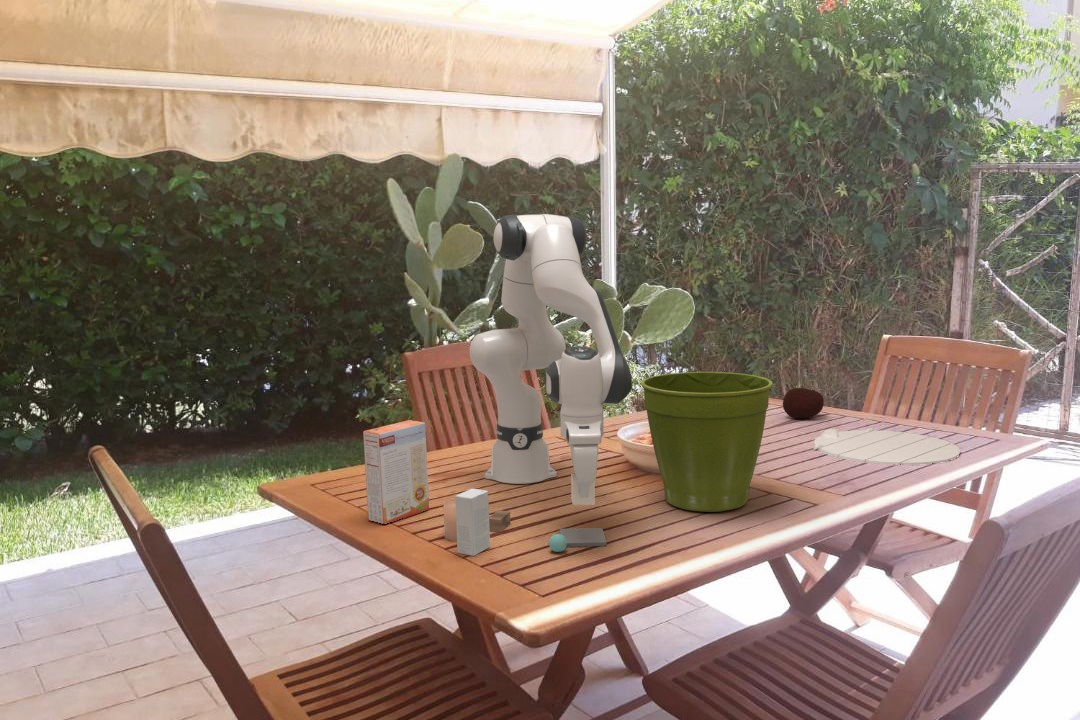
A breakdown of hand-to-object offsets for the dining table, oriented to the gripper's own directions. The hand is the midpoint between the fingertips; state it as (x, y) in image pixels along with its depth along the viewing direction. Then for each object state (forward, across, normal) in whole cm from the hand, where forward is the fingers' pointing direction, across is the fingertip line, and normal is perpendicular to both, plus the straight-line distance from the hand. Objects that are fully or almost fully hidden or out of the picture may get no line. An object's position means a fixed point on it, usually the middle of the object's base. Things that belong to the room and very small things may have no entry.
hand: (582, 492), depth 191 cm
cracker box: (+10, -19, -41) cm, 46 cm away
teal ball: (+10, +7, -6) cm, 13 cm away
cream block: (+2, 0, 0) cm, 2 cm away
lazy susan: (+10, -72, +92) cm, 117 cm away
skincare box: (+10, +5, -23) cm, 25 cm away
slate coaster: (+10, 0, 0) cm, 10 cm away
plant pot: (+10, -24, +30) cm, 40 cm away
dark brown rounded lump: (+10, -113, +82) cm, 140 cm away
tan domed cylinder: (+10, -4, -26) cm, 28 cm away
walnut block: (+10, -9, -18) cm, 22 cm away
